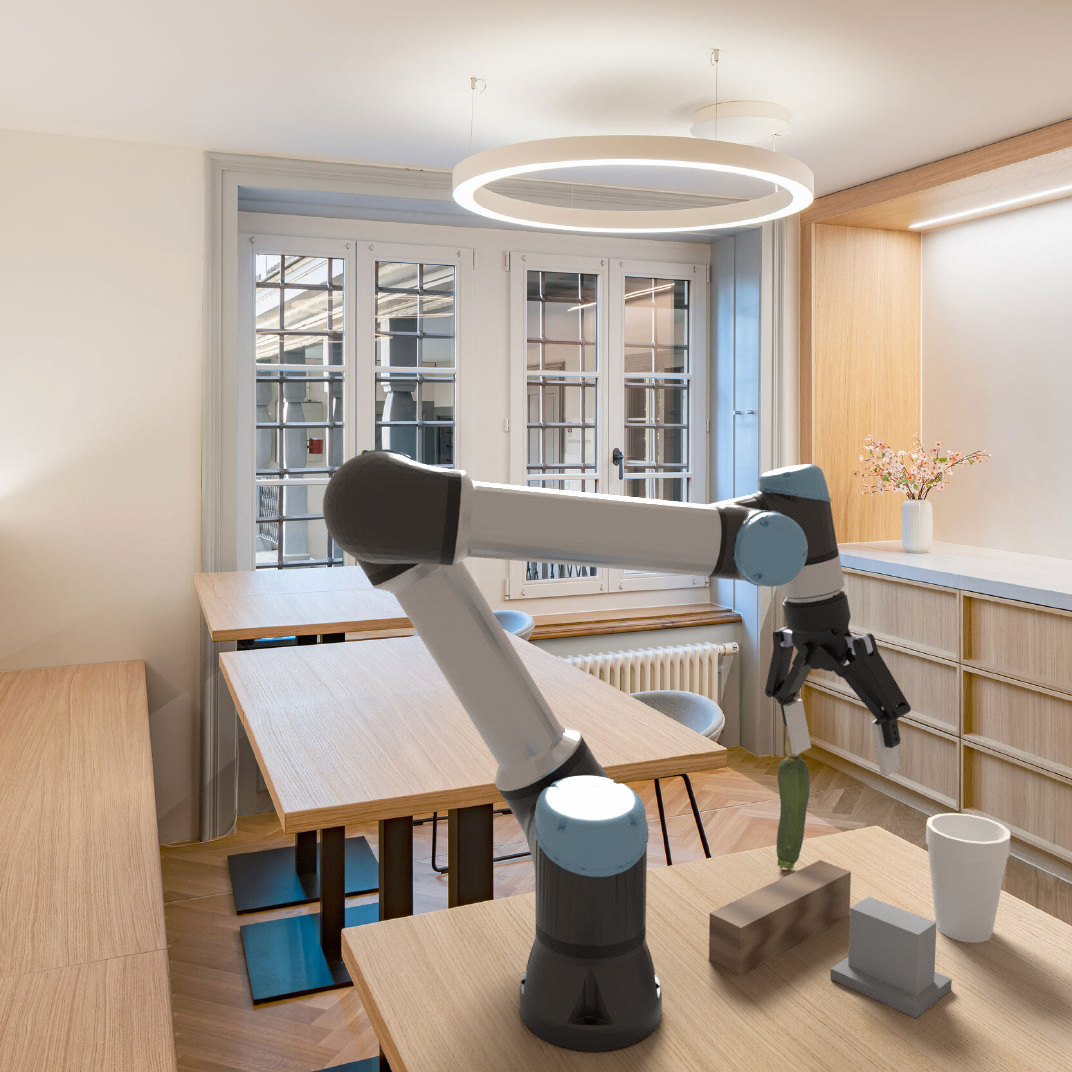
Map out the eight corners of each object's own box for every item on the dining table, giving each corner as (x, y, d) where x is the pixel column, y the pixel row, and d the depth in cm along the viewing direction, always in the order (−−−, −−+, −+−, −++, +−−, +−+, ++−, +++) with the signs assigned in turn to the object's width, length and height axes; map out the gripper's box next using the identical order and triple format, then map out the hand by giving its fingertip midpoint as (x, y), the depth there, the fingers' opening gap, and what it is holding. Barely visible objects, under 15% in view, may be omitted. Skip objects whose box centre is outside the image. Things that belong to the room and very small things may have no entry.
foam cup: (928, 943, 116) (932, 839, 115) (917, 907, 125) (920, 810, 124) (1014, 953, 114) (1019, 846, 112) (997, 916, 123) (1001, 817, 121)
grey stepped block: (915, 1018, 101) (918, 945, 100) (830, 978, 108) (832, 910, 108) (951, 989, 106) (954, 919, 105) (867, 953, 114) (869, 888, 113)
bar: (739, 978, 109) (740, 927, 108) (708, 962, 112) (709, 912, 112) (849, 917, 123) (850, 871, 122) (818, 904, 126) (820, 860, 126)
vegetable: (783, 859, 139) (786, 723, 138) (812, 867, 137) (816, 729, 135) (770, 869, 136) (773, 731, 134) (799, 878, 133) (802, 737, 131)
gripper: (923, 589, 107) (953, 768, 110) (759, 582, 128) (788, 733, 131) (879, 608, 103) (912, 794, 106) (718, 597, 124) (749, 753, 127)
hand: (844, 760), depth 118 cm, fingers open, 13 cm apart
